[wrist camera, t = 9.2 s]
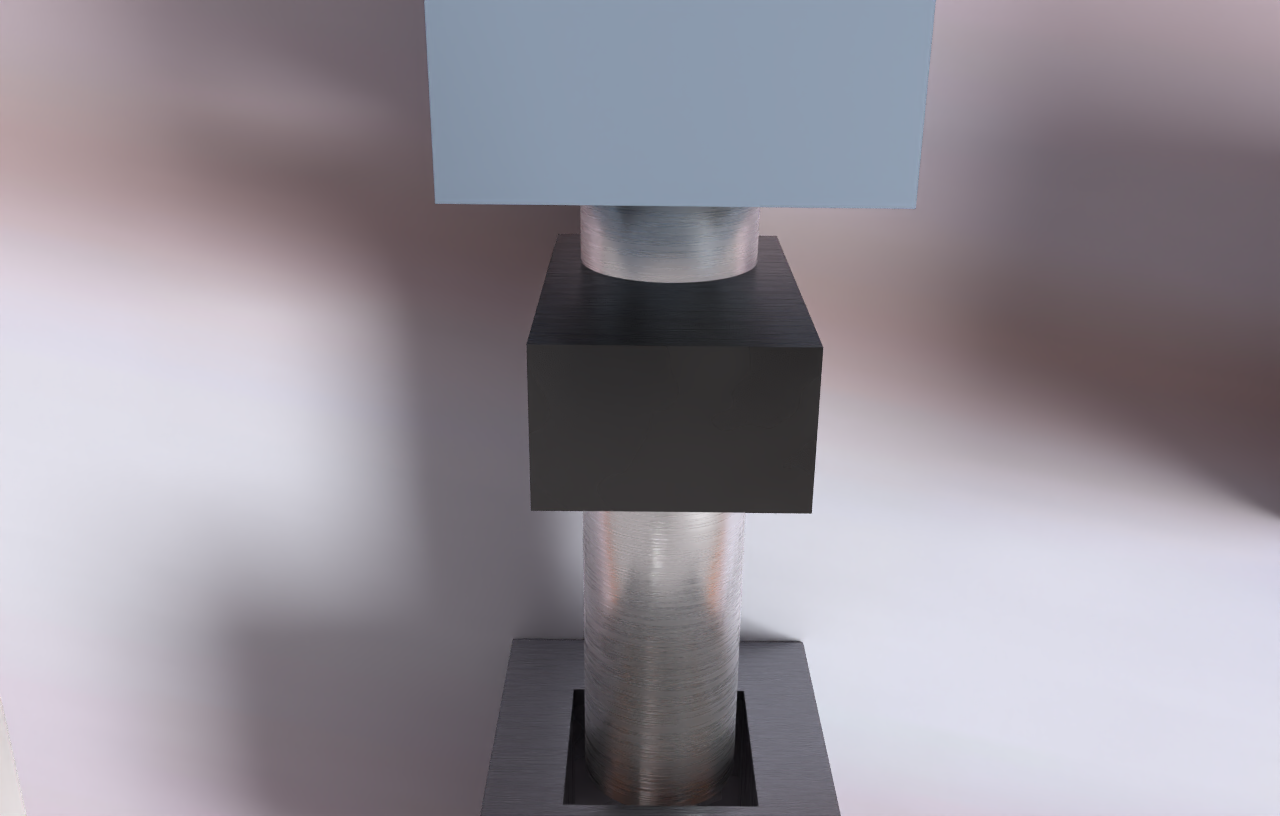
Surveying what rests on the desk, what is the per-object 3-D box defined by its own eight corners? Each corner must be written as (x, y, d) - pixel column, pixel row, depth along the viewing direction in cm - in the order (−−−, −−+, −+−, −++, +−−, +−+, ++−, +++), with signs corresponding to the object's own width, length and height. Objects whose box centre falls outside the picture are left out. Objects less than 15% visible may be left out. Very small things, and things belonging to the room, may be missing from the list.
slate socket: (838, 127, 28) (915, 208, 20) (494, 123, 28) (435, 203, 20) (855, -106, 26) (947, -120, 18) (487, -110, 26) (416, -125, 18)
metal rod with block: (751, 711, 31) (782, 937, 24) (565, 709, 31) (542, 935, 24) (789, -5, 25) (846, 24, 18) (554, -8, 25) (518, 20, 18)
